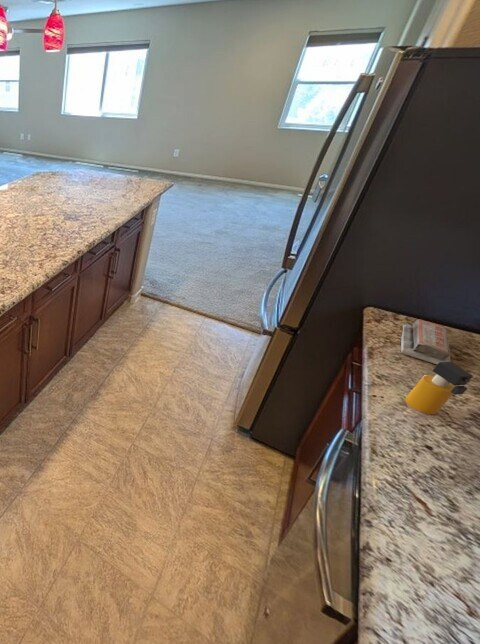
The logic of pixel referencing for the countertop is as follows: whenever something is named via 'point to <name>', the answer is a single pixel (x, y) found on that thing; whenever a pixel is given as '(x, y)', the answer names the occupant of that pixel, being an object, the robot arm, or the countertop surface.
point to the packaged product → (425, 341)
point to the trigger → (459, 390)
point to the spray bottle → (437, 387)
